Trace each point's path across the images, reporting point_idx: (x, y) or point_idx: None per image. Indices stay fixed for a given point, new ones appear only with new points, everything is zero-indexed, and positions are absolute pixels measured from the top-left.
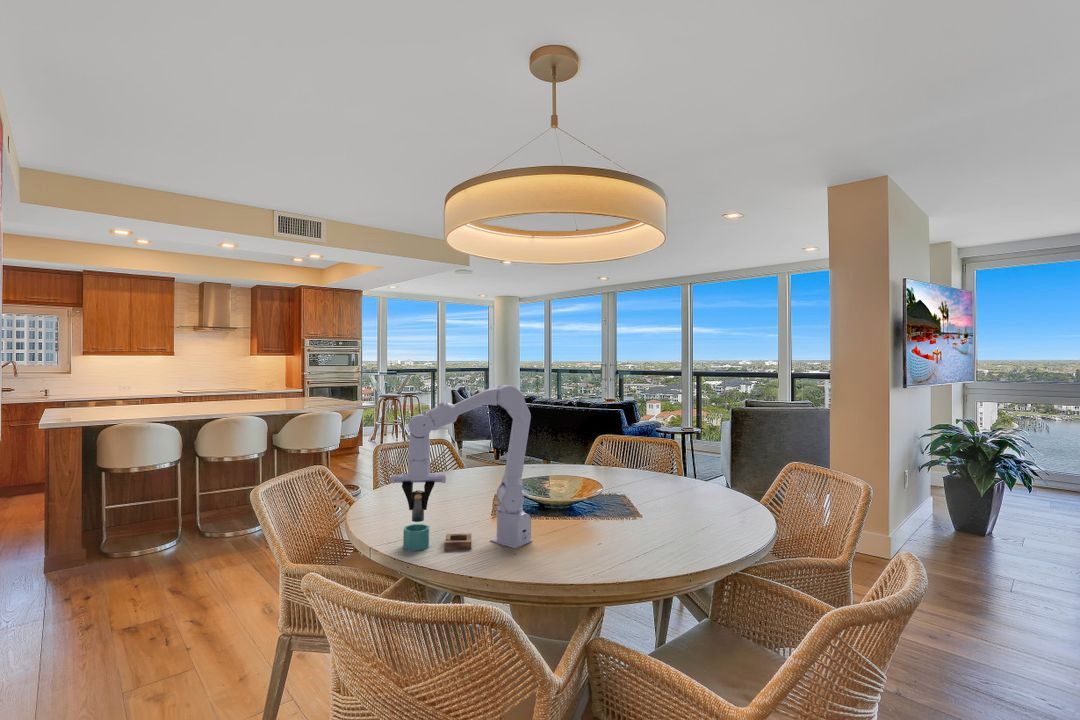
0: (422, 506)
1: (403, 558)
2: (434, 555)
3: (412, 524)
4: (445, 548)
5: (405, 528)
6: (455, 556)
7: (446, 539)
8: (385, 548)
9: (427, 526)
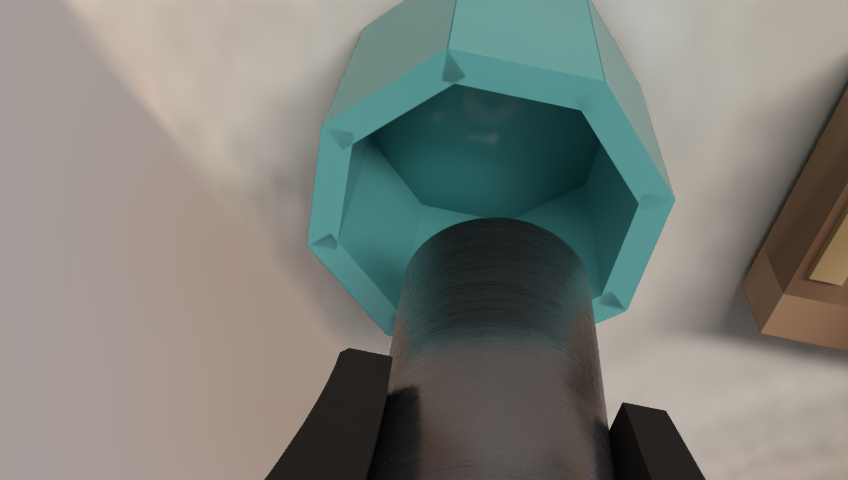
0: None
1: (350, 329)
2: (613, 344)
3: (440, 56)
4: (750, 294)
5: (331, 206)
6: (775, 406)
7: (809, 277)
8: (163, 50)
9: (642, 212)
